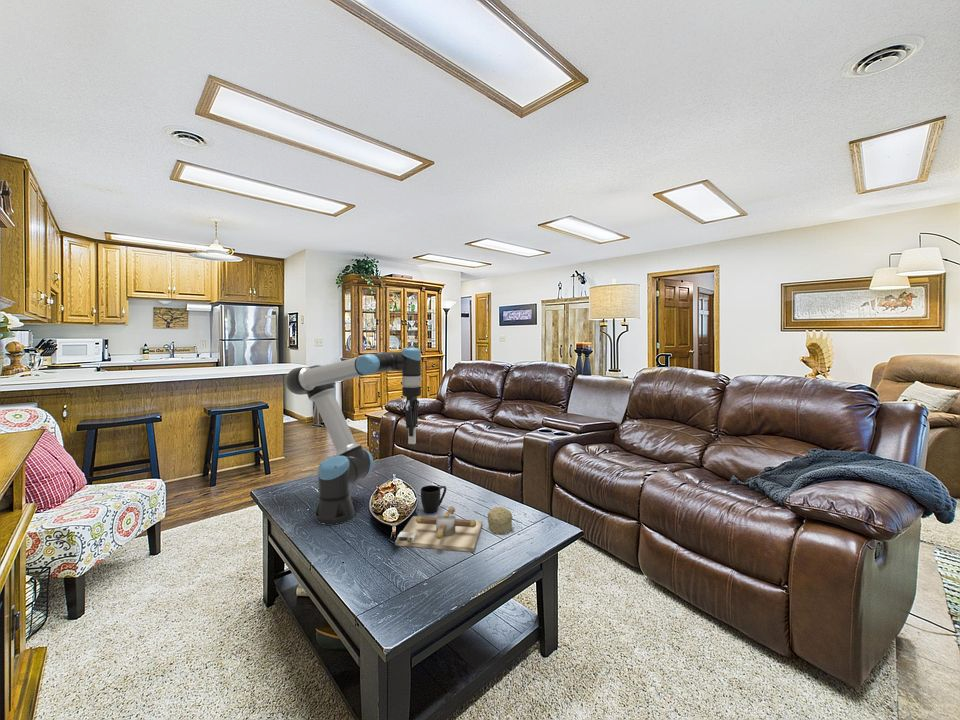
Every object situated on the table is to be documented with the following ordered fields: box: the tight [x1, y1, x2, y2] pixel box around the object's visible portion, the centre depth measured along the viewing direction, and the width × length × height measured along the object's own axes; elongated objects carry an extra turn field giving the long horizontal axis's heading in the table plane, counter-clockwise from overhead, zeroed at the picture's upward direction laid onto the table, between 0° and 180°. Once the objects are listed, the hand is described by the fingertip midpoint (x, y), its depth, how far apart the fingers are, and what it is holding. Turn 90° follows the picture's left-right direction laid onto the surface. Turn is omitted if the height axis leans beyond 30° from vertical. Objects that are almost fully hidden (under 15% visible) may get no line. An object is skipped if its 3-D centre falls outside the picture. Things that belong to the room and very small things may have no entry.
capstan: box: [416, 506, 477, 539], centre depth 151 cm, size 23×23×6 cm
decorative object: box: [487, 506, 513, 535], centre depth 157 cm, size 9×10×10 cm
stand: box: [394, 515, 483, 553], centre depth 152 cm, size 28×20×3 cm
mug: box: [420, 484, 447, 515], centre depth 173 cm, size 8×12×10 cm
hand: (412, 443), depth 168 cm, fingers closed
